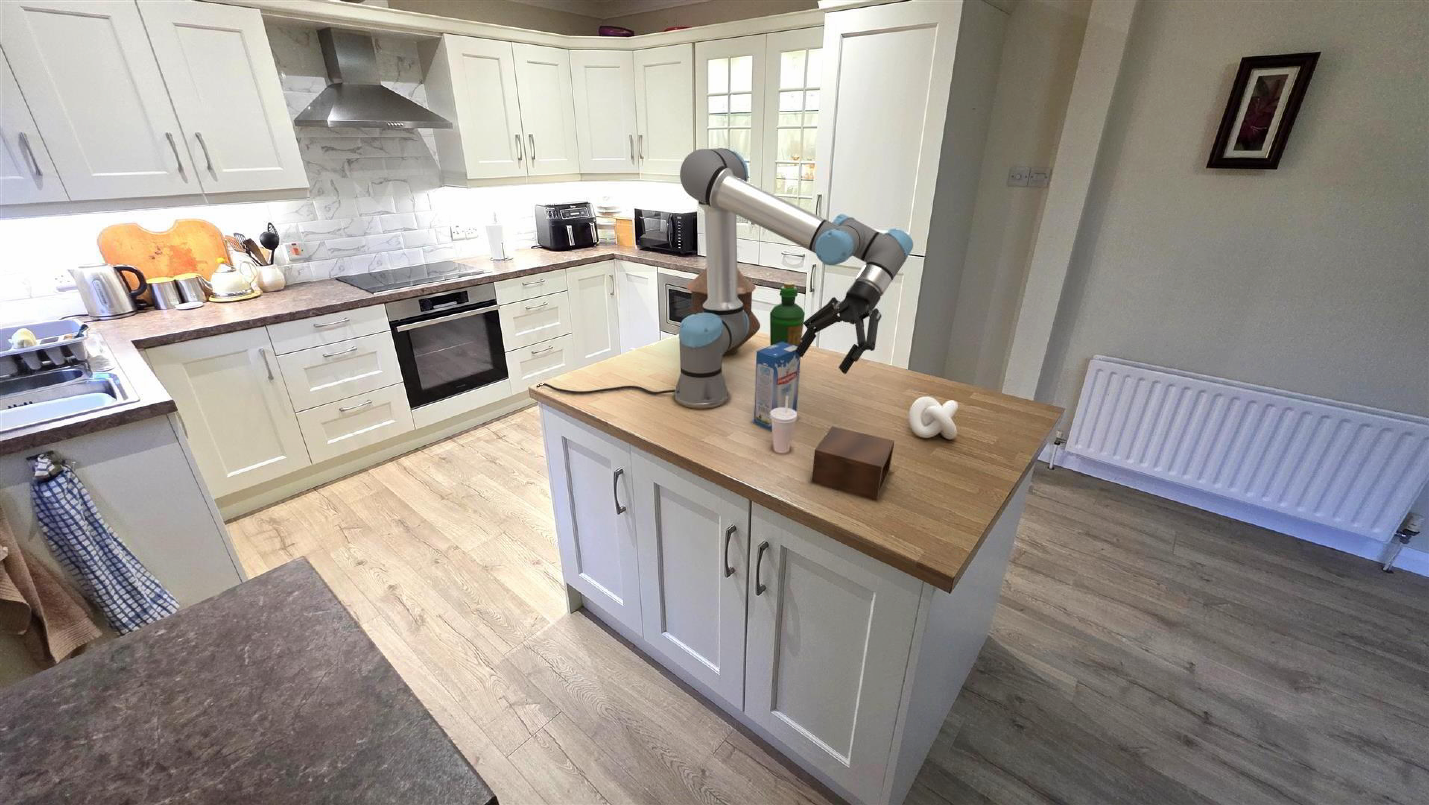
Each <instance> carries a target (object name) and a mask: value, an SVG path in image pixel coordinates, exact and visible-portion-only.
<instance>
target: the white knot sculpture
mask: <svg viewBox="0 0 1429 805" xmlns="http://www.w3.org/2000/svg"><path fill="white" fill-rule="evenodd" d="M958 409H959V404H958V402H957V401H956V400H951V399H950V400H948V401H945V403H943V404H942V405H941V403H940V402H939V401H938V400H937V399H935V397H932V396H921V397H919V398H917V399H916V400H915V401H914V402H913V403H912V405H911V406H910V409H909V411H908V424H909V426H910V429H911V431H912V433H914V434H915V435H916V436H918V437H920V438H924V439H928V438H929V439H930V438H933V437H935V436H937V435H938V434H941V436H942V437H943V438H945V439H946V440H953V439H955V438H956V437H957V435H958V429H957V427H956V424H955V423H954V422H955V421H953V419H952V418H953V417H954V415H955V414H956V412H957V411H958Z"/></svg>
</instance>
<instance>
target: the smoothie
mask: <svg viewBox="0 0 1429 805" xmlns="http://www.w3.org/2000/svg"><path fill="white" fill-rule="evenodd" d="M770 418H771V422H772V431H771V432H772V433H771V434H772V444H773V450H774V452H776V453H778V454H787V453H789V451H790V448H791V444H792V439H793V434H794V429H795V425H796V421H797V420H798V412H796V411H794V410H793V409H790V408H788V396H786V405H785V408H783V407H781V408H775V409H773V410H771V412H770Z"/></svg>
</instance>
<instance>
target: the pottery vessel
mask: <svg viewBox="0 0 1429 805" xmlns="http://www.w3.org/2000/svg"><path fill="white" fill-rule="evenodd" d="M737 285H738V299H739V300H740V301H741V302H742V303H743V310H744V312H745V313H746V314H747V316H748V319H749V330H748V333H747V335H746V337H745V338H744V339H743V340H742V341H741V343H739V344H738V345H737V346H735V347H733V348H731V349H730V350H728V351H727V352H726V353H724V354H723V355H732V354H735V353H736V352H737V351H738V349H740V348H741V347H742V346H743V345H744V344H745V343H747V342H748V341H749V340H750V339H752V337H754V336H755V335H756V334H757V333H758V331H760V328H761V323H760V321H759V319H758V317H757V316H756V315H755V313H754V312H753V311H752V310H753V309H752V308H753V306H752V304H753V292H754V291H755V290H757V289H756V288H757V286H756V284H754V283H752V282H751V281H749V279H748V278H746V276H744V274H743V273H742V272H741V270H740V269H739V268H738V267H737ZM685 288H686V289H687V290H688V291H690V296H691V315H693V314H694V315H696V314H697V313H703V304H704V303H705V301H706V300H707V299H708V288H707V266H706V267H705V268H704V269H703V270H702V271H701V272H700V273H699V274H698V275H697V276H696V277H695V278H694V279H693V280H691V281H690V282H688V283H686V285H685Z"/></svg>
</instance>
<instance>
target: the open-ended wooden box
mask: <svg viewBox="0 0 1429 805" xmlns="http://www.w3.org/2000/svg"><path fill="white" fill-rule="evenodd" d="M894 446H895V440H893V439H890V438H885V437H881V436H876V435H872V434H869V433H864V432H858V431H855V430H851V429H847V428H842V427H837V426H833V425H831V426H830V428H829V429H828V431H827V432H826V433H825V435H824V436H823V438H822V439H821V440H820V442H819V443H818V445H817V446H816V447H815V449H814V454H813V464H812V473H811V474H812V475H811V483H813V484H816V485H820V486H823V487H827V488H831V489H834V490H837V491H841V492H844V493H848V494H852V495H855V496H859V497H863V498H866V499H870V500H872V501H878V498H879V496H880V494H881V492H882V490H883V488H884V486H885V483H886V481H887V479H888V476H889V475H890V470H891V466H892V458H893V452H894Z"/></svg>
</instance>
